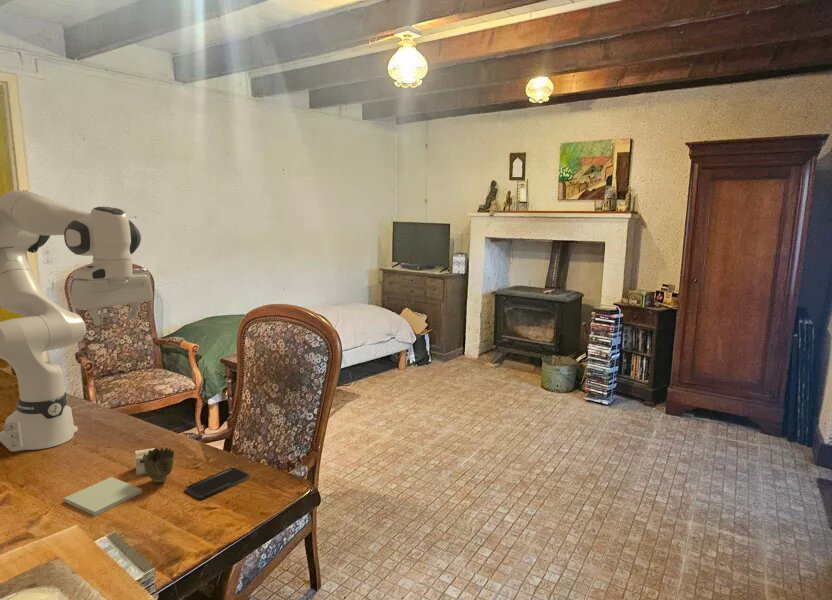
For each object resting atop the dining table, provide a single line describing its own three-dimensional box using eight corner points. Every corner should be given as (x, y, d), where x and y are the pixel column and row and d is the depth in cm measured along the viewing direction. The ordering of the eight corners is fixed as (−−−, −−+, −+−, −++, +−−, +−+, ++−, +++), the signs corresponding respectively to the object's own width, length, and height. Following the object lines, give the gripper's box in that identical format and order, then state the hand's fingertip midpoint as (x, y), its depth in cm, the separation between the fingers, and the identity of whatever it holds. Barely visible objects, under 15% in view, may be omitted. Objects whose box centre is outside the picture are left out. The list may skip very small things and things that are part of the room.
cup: (162, 490, 133) (161, 461, 131) (137, 486, 134) (136, 457, 133) (180, 476, 140) (180, 449, 139) (157, 473, 141) (156, 445, 140)
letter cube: (136, 467, 144) (135, 451, 143) (155, 464, 146) (155, 447, 145) (136, 476, 139) (135, 458, 138) (157, 472, 142) (156, 455, 141)
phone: (183, 487, 133) (233, 466, 145) (183, 491, 133) (233, 470, 146) (201, 498, 129) (250, 475, 141) (201, 502, 129) (250, 479, 141)
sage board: (64, 501, 125) (64, 497, 125) (111, 480, 136) (111, 476, 136) (94, 515, 120) (94, 512, 120) (141, 492, 131) (141, 489, 131)
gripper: (141, 266, 144) (143, 315, 146) (65, 271, 126) (69, 326, 128) (156, 268, 141) (158, 317, 144) (81, 273, 123) (85, 329, 125)
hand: (116, 321), depth 136 cm, fingers open, 8 cm apart
